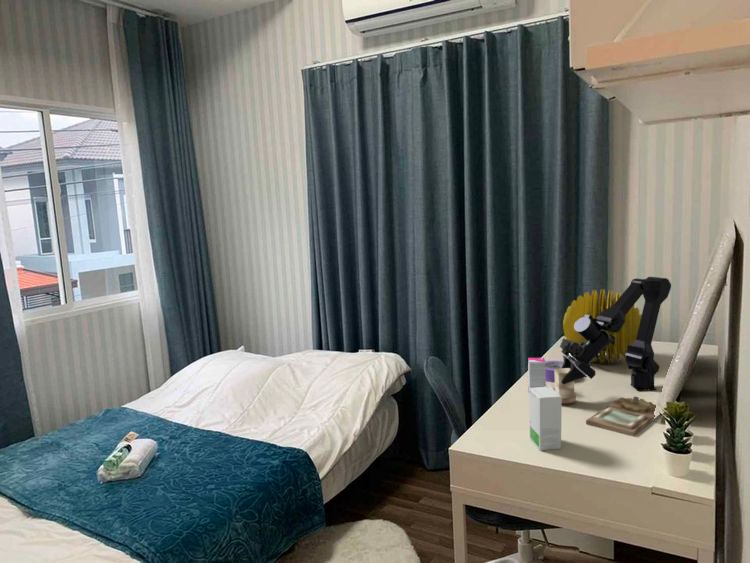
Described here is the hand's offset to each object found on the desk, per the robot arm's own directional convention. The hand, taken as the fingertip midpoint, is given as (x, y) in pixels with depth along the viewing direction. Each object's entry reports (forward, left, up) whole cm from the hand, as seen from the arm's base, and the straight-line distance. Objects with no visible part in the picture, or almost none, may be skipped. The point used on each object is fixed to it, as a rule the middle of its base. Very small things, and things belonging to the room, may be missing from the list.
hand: (560, 380), depth 186 cm
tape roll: (-5, -26, -8) cm, 28 cm away
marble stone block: (-1, 0, -7) cm, 7 cm away
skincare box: (+13, +30, -8) cm, 33 cm away
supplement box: (+5, -13, -8) cm, 16 cm away
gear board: (-16, +15, -8) cm, 23 cm away
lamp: (-29, -41, -8) cm, 51 cm away
